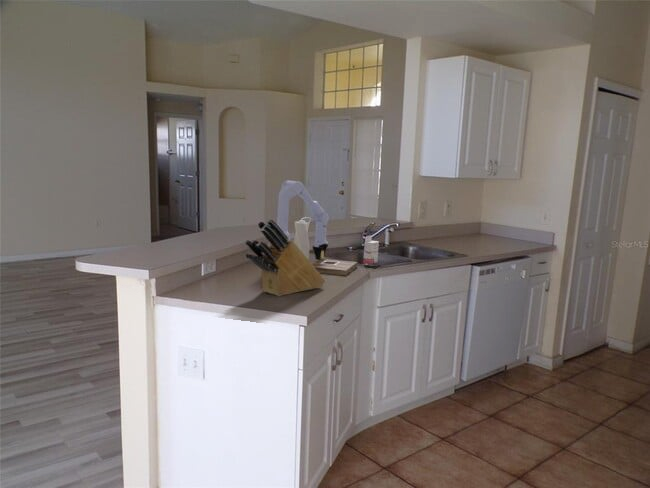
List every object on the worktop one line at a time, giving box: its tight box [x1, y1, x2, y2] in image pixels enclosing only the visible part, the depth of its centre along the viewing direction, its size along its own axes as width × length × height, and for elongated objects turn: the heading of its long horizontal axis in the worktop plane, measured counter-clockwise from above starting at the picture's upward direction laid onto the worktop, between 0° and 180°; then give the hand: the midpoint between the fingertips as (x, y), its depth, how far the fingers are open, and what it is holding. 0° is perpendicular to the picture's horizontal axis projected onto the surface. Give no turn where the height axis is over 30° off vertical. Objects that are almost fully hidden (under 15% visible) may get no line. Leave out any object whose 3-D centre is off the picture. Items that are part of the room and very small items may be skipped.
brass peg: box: [315, 250, 325, 262], centre depth 270 cm, size 4×4×6 cm
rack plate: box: [311, 258, 358, 277], centre depth 252 cm, size 22×20×3 cm
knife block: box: [244, 218, 326, 297], centre depth 203 cm, size 11×35×31 cm, turn 134°
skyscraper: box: [293, 216, 312, 260], centre depth 231 cm, size 8×8×28 cm
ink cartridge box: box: [363, 235, 380, 265], centre depth 272 cm, size 9×5×15 cm, turn 149°
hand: (320, 258), depth 271 cm, fingers open, 7 cm apart
